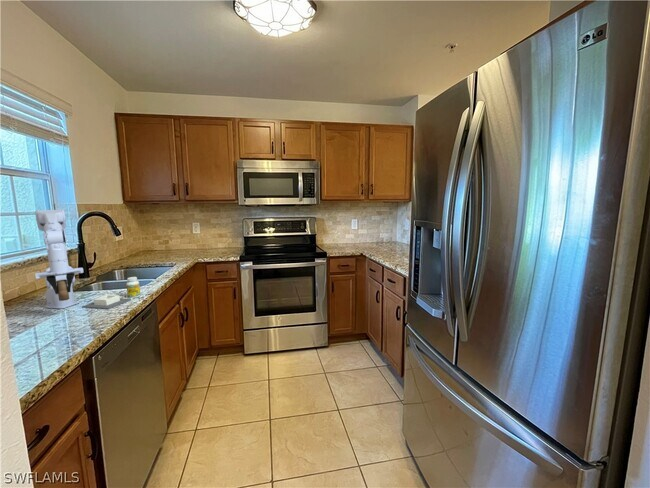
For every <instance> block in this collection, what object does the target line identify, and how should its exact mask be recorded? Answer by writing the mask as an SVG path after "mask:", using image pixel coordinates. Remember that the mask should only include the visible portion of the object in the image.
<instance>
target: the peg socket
mask: <svg viewBox="0 0 650 488" xmlns="http://www.w3.org/2000/svg"><path fill="white" fill-rule="evenodd" d="M130 301H132V298H121V297H120V295H117V294H105V295H103V296H99V297H97V298H94V299H93V302H91V303H88V304H85V305H82V306H81V308H82V309H83V308H84V309H96V310H97V309H98V310H110V309H113V308H115V307H118V306H121V305H123V304H125V303H128V302H130Z"/></svg>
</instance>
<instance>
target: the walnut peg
mask: <svg viewBox="0 0 650 488" xmlns="http://www.w3.org/2000/svg"><path fill="white" fill-rule="evenodd" d="M56 283H57V290H58V296H59V301H64V300H68V299H69V292H68V286H67V280H58V281H56Z"/></svg>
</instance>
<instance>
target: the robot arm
mask: <svg viewBox="0 0 650 488" xmlns="http://www.w3.org/2000/svg"><path fill="white" fill-rule="evenodd" d="M34 214H35V219H36V220H35V221H36V224H37V228H38V230H39V231H42V232H43V233H42V235H43V242H44V245H45V249H46V253H47V257H48V264H49V267H48V268H46V269H45V271H43V272H36V273H34V274H35V275H34V276H35V279H36V280H39V279H44V278H45V279H44V280H45V285H46V288H47V289H46V291H45V298H46V304H47V305H46V306H45V308H46V309H60V310H61V309H65V308H68V307H72V306H74V305H77V304H80V301H75V296H74V289H73V285H74V284H75V283H76V277H75V275H76V274H83V273H84V268H83V267H77V268H76V267H74V268H73V266H70V265H69V260H68V252H67V247H66V245H67V234H66V232H65V229H66V227H67V226H66V221H67V220H66V212H65V210H64V209H62V208H61V209H45V210H44V209H42V210H41V209H40V210H39V209H36V210H35V211H34ZM58 280H67V286H68V292H69V299H68V300H64V301H59V296H58V290H57V283H56V281H58Z"/></svg>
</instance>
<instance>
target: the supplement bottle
mask: <svg viewBox="0 0 650 488" xmlns="http://www.w3.org/2000/svg"><path fill="white" fill-rule="evenodd" d="M126 281H127V282H126V285H125V286H126V293H127V294H126V295H127V299H135V298H138V297H141V287H140V281H139V280H138V276H131V277H127V279H126Z"/></svg>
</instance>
